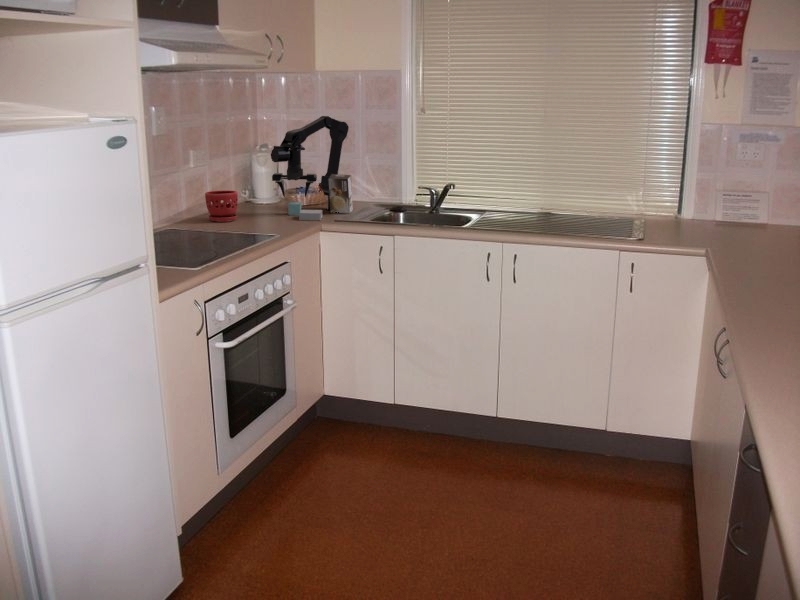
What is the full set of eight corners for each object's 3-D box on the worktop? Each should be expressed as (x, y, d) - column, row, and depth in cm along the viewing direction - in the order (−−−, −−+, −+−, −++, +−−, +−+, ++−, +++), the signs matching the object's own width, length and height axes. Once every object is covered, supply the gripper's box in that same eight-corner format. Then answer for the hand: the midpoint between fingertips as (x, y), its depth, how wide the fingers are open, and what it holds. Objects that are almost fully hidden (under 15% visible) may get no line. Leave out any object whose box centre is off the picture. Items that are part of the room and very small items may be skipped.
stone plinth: (301, 216, 346) (301, 209, 345) (322, 216, 346) (322, 210, 345) (299, 220, 337) (299, 213, 336) (320, 220, 337) (320, 213, 337)
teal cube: (289, 213, 354) (289, 202, 352) (301, 213, 354) (301, 202, 352) (288, 215, 349) (288, 203, 347) (300, 215, 349) (299, 204, 348)
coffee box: (353, 209, 361) (351, 174, 354) (350, 214, 355) (348, 179, 348) (333, 208, 362) (331, 173, 355) (329, 213, 356) (328, 178, 349)
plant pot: (242, 218, 339) (241, 189, 336) (233, 223, 327) (232, 194, 323) (212, 217, 340) (211, 188, 337) (201, 222, 328) (200, 193, 325)
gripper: (269, 162, 337) (270, 199, 341) (314, 163, 337) (314, 200, 342) (273, 159, 348) (274, 195, 352) (316, 160, 348) (317, 196, 352)
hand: (294, 197), depth 349 cm, fingers open, 9 cm apart
